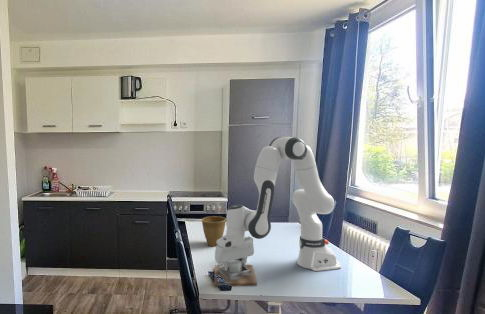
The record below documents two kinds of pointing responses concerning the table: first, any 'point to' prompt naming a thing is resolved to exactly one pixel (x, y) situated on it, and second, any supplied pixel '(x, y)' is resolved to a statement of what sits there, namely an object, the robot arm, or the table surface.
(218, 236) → the plant pot
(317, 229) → the robot arm
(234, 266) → the small box
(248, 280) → the pocket board
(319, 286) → the table surface
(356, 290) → the table surface
